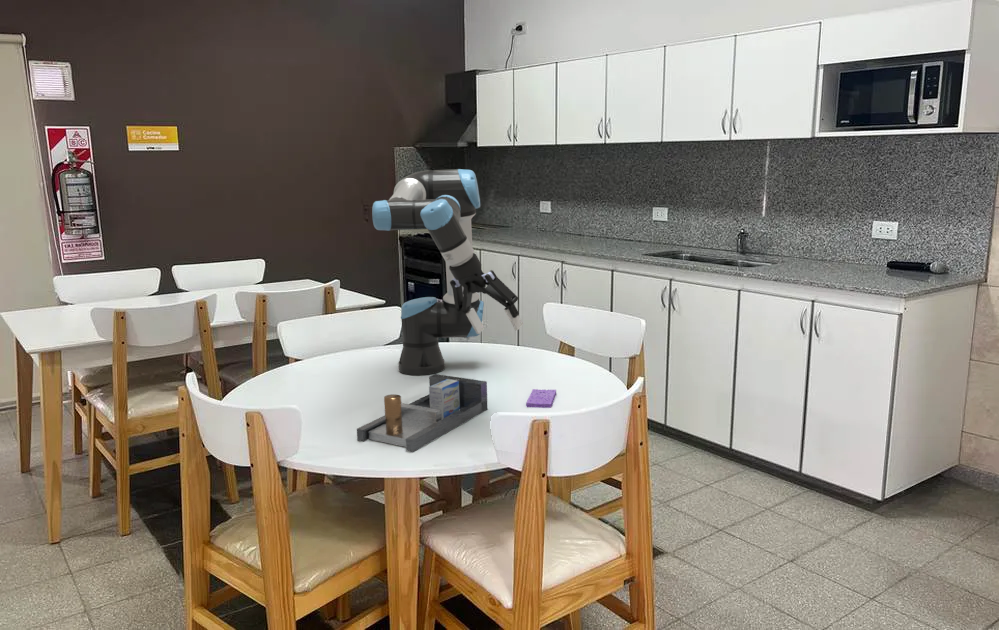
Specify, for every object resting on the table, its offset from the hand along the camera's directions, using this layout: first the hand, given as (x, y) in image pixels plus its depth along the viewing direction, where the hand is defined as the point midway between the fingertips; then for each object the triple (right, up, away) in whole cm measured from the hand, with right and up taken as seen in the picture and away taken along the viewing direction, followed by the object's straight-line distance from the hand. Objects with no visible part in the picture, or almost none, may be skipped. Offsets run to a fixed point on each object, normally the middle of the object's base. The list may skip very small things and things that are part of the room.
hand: (499, 329), depth 194 cm
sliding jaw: (-23, -26, -5) cm, 35 cm away
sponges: (+12, -21, +19) cm, 31 cm away
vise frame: (-19, -25, +2) cm, 31 cm away
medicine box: (-15, -23, +10) cm, 29 cm away
